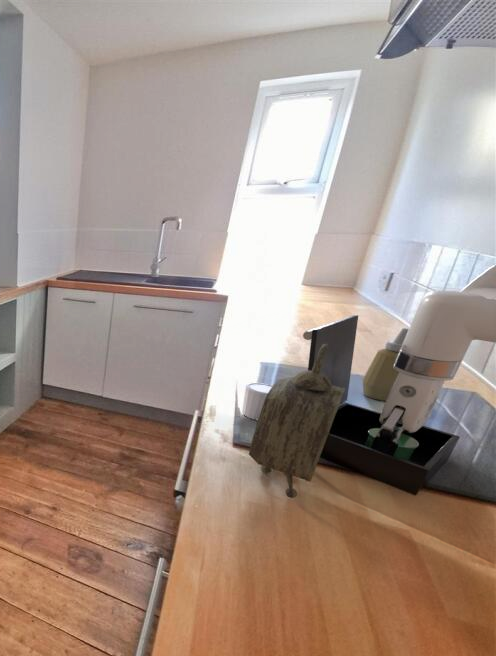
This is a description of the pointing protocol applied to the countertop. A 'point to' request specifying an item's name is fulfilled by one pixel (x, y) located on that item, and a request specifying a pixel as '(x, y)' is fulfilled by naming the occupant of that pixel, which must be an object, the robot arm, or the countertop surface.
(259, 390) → the white short cylinder
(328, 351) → the lid
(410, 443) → the pot
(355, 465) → the black rectangular tray
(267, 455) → the tan textured upright piece
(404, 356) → the robot arm
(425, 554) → the countertop surface
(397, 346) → the squeeze bottle
